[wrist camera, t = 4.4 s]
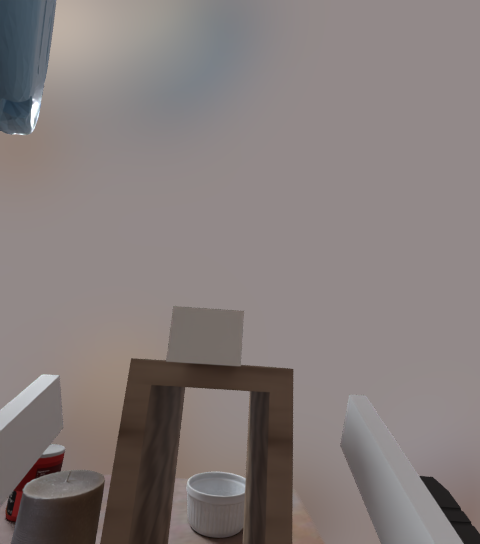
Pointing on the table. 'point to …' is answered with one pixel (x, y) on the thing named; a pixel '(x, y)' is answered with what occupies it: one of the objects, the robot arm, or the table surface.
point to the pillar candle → (60, 509)
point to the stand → (165, 441)
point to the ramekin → (216, 503)
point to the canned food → (35, 476)
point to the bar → (205, 336)
